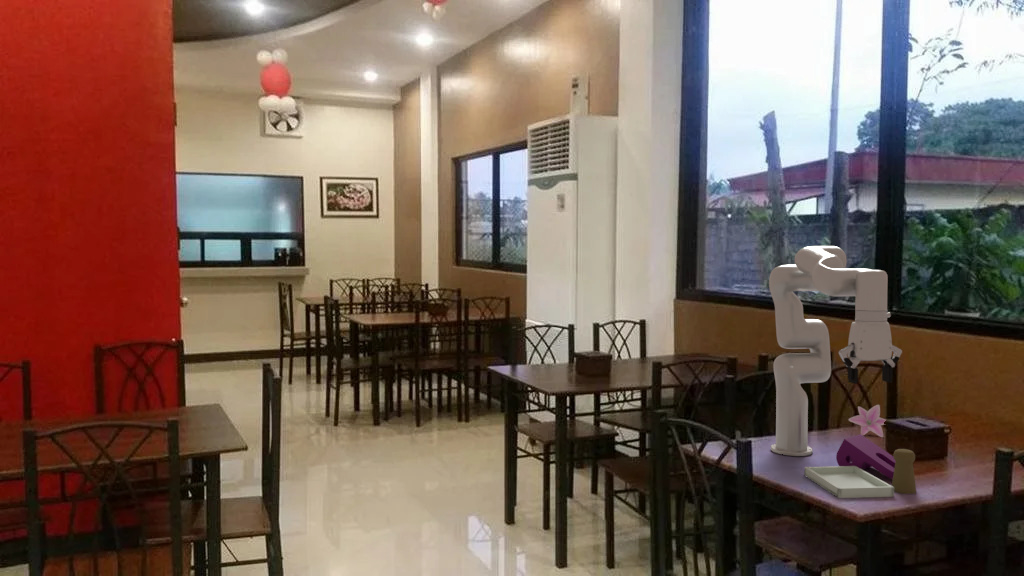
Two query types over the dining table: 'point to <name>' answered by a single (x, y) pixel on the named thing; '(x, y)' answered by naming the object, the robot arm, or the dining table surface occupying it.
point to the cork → (904, 472)
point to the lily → (869, 420)
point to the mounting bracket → (865, 455)
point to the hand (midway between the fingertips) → (870, 382)
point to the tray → (849, 482)
